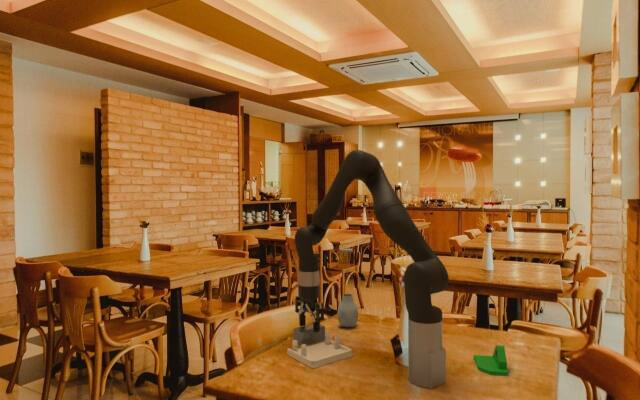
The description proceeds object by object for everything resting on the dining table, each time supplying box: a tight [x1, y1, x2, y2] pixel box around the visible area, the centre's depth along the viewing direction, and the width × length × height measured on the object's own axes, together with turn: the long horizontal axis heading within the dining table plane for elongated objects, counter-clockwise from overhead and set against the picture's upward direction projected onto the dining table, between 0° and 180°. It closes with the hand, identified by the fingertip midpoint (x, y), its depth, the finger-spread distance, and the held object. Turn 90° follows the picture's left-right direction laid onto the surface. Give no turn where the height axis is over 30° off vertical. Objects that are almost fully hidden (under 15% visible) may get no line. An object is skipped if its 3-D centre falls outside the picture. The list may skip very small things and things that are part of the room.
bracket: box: [472, 344, 509, 377], centre depth 134 cm, size 12×8×7 cm, turn 169°
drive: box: [293, 323, 326, 347], centre depth 158 cm, size 5×10×5 cm, turn 126°
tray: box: [286, 331, 354, 369], centre depth 144 cm, size 14×16×5 cm
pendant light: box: [336, 248, 359, 328], centre depth 173 cm, size 8×8×30 cm
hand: (309, 328), depth 158 cm, fingers open, 8 cm apart
